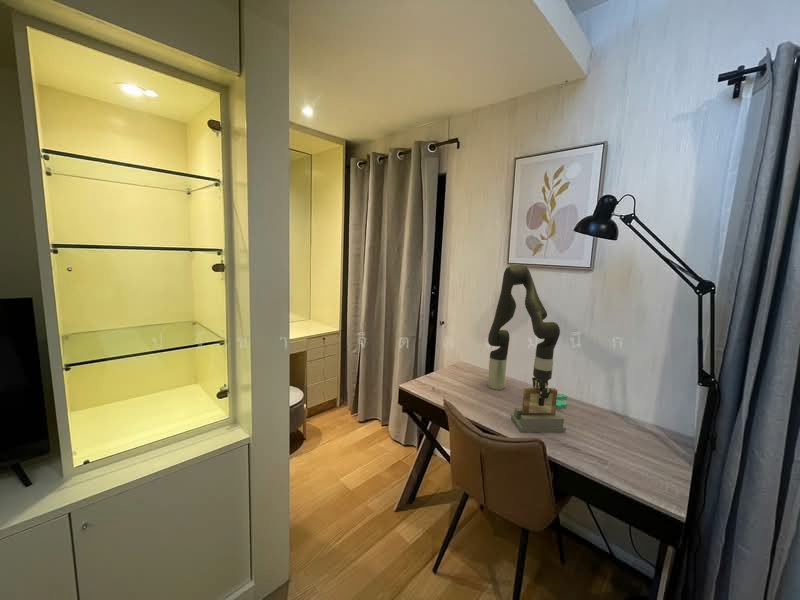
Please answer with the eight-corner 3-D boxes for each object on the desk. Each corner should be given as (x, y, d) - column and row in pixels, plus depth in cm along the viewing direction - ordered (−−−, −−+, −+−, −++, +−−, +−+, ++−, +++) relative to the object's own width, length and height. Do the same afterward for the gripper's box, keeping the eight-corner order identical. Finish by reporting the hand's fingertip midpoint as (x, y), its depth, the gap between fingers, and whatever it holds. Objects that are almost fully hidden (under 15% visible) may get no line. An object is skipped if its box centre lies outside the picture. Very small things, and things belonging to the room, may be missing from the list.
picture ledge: (511, 419, 158) (512, 407, 157) (552, 419, 159) (554, 407, 158) (520, 432, 147) (521, 419, 146) (565, 432, 148) (566, 419, 147)
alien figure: (527, 390, 191) (521, 405, 173) (527, 387, 190) (522, 401, 173) (566, 399, 181) (565, 415, 164) (566, 395, 181) (565, 410, 164)
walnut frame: (521, 412, 153) (524, 387, 151) (551, 413, 153) (554, 388, 152) (524, 415, 150) (526, 390, 148) (554, 416, 151) (557, 390, 149)
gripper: (528, 361, 155) (524, 396, 158) (542, 372, 141) (538, 411, 144) (544, 361, 155) (540, 396, 158) (559, 372, 141) (555, 411, 144)
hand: (539, 403), depth 151 cm, fingers closed on walnut frame, 2 cm apart
